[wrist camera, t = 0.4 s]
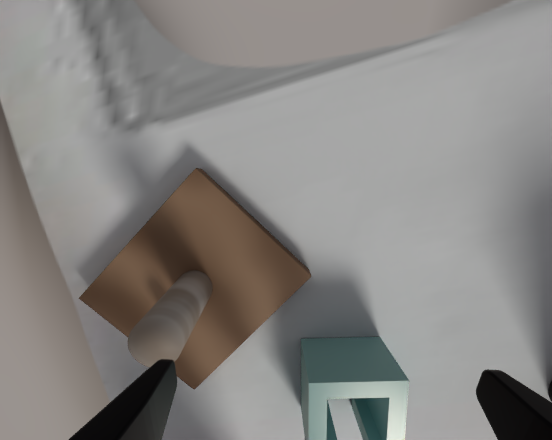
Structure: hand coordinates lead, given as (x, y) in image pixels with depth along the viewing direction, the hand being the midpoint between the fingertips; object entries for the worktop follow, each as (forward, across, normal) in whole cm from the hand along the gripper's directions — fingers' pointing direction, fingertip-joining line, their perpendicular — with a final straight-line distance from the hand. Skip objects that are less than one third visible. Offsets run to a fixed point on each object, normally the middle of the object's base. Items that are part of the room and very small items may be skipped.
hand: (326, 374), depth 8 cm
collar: (+12, -4, +14) cm, 19 cm away
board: (+13, +8, +5) cm, 16 cm away
